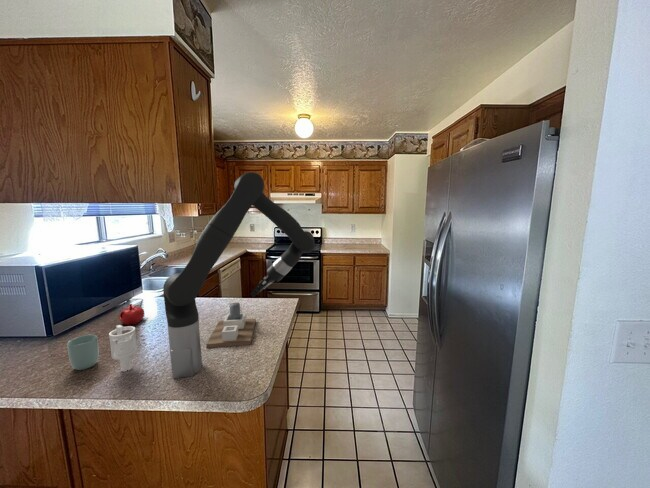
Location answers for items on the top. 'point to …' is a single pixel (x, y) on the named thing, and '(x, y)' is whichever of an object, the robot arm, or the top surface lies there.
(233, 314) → the capsule
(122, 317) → the pomegranate
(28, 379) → the top surface
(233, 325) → the socket fittings
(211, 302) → the top surface
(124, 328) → the white tall rounded piece
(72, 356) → the cup
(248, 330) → the board
